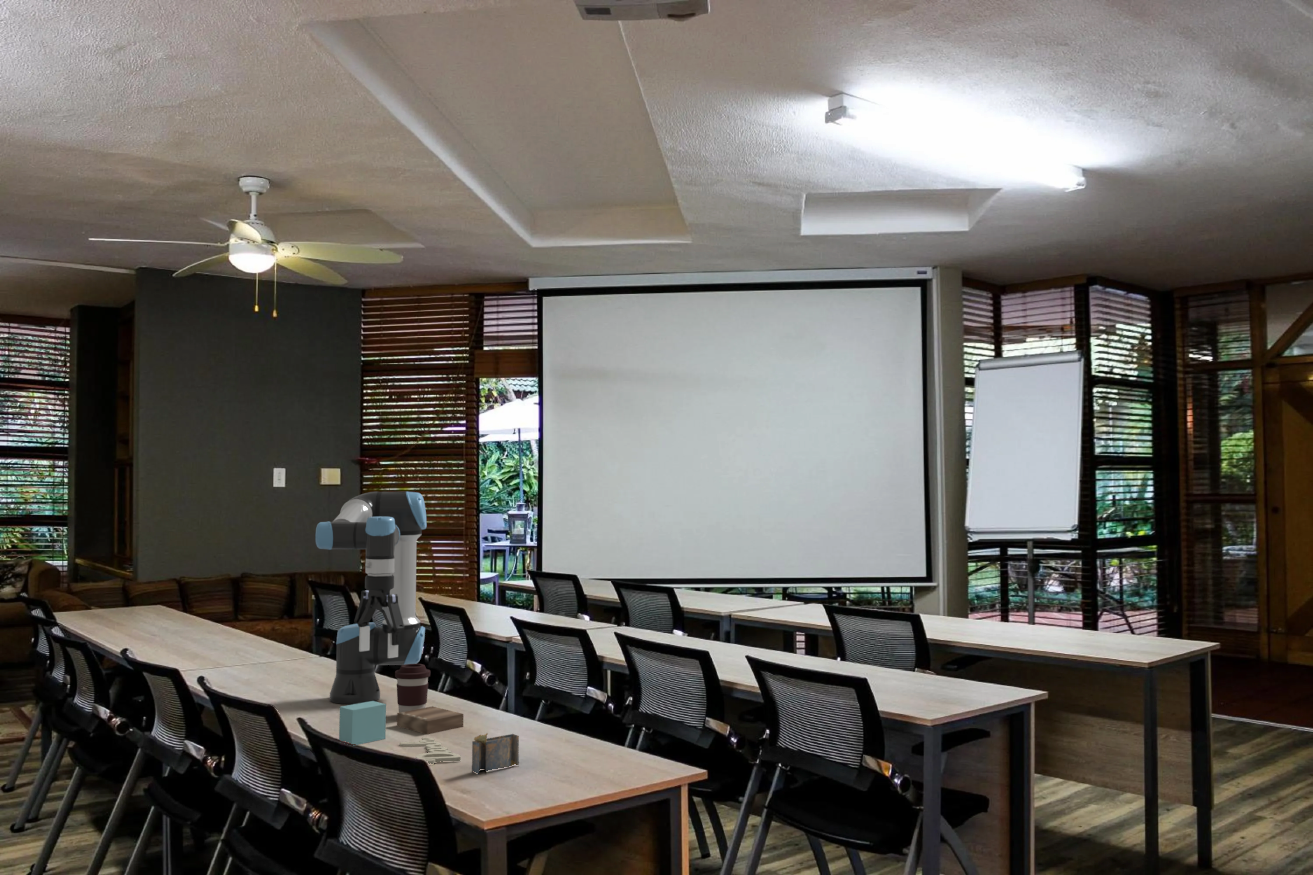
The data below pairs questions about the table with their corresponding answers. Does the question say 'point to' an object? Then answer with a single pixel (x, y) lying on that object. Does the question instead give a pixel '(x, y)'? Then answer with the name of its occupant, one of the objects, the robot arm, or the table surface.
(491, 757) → the rusty metal bracket
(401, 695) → the coffee cup
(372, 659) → the robot arm
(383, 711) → the light teal block
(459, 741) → the table surface
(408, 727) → the brown block
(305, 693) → the table surface
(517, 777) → the table surface
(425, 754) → the decorative sign
